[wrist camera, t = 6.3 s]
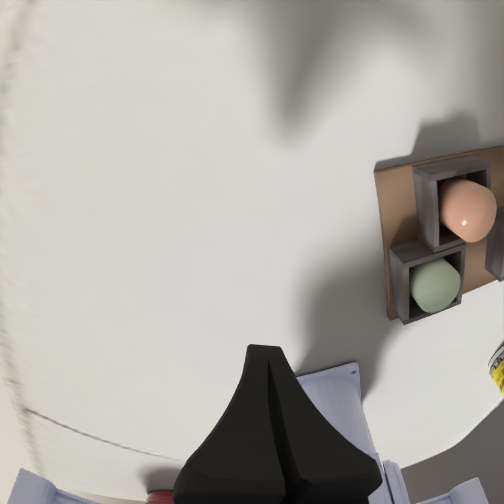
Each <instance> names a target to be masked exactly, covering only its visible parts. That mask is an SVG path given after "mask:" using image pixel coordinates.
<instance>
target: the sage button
mask: <svg viewBox="0 0 504 504" xmlns="http://www.w3.org/2000/svg"><path fill="white" fill-rule="evenodd" d="M459 288H460V275H459V273H458V272H457V271H456V270H455V269H454V268H453V267H452V266H451V265H450V264H449V263H448V262H447V261H446V260H445V259H443V258H442V257H440V258H437V259H434V260H431V261H428V262H425V263H422V264H419V265H416V266H413V267H410V268H409V293H410V294H411V295H412V297H413V298H414V299H415V301H416V302H417V303H418V305H419V306H420V308H421V309H422V310H423V311H425V312H428V313H434V312H438V311H440V310H442V309H444V308H445V307H447V306H448V305H449V304H450V303H451V302H452V301H453V300H454V298H455V297H456V295H457V293H458V291H459Z"/></svg>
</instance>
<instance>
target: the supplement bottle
mask: <svg viewBox="0 0 504 504" xmlns="http://www.w3.org/2000/svg"><path fill="white" fill-rule="evenodd" d="M488 371H489V373H490V375H491V376H492V378H493V380H494V381H495V383H496V384H497V386H498V387H499V389H500V391H501V392H502V394H503V395H504V346H503V347H501V348H500V349H499V350H498V351H497V352H496V354H495V355H494V356H493V358H492V359H491V361H490V363H489V366H488Z"/></svg>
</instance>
